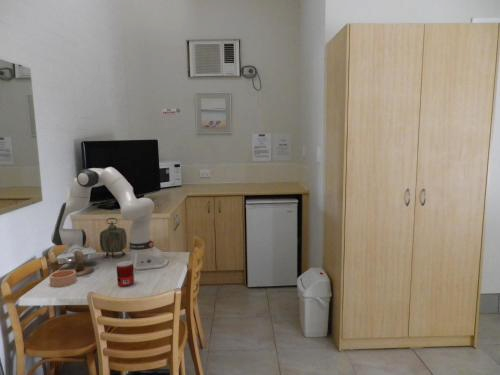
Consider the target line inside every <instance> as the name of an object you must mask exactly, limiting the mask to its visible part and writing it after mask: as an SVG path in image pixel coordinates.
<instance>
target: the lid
mask: <svg viewBox="0 0 500 375" xmlns="http://www.w3.org/2000/svg"><path fill="white" fill-rule="evenodd" d="M74 258H75V262H74V267H71V268H72V269H71V268H70V269H69V270H74V271H76V277H77V278H79V277H78V276H84V275H88V274H90V273H92V272H93V271H94V268H93V267H94V266H91V265H90V266H88V265H85V262H84V261H85V260H84V259H83V252H76V253H74Z"/></svg>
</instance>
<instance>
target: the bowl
mask: <svg viewBox="0 0 500 375" xmlns="http://www.w3.org/2000/svg"><path fill="white" fill-rule="evenodd" d="M48 276H49V285H50V287H52V288H63V287H64V288H65V287H68V286H70V285H74V284H76V282H77V278H78V277H76V271H74V270H70V269H65V270H58V271H56V272H53V273H51V274H49V275H48Z"/></svg>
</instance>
